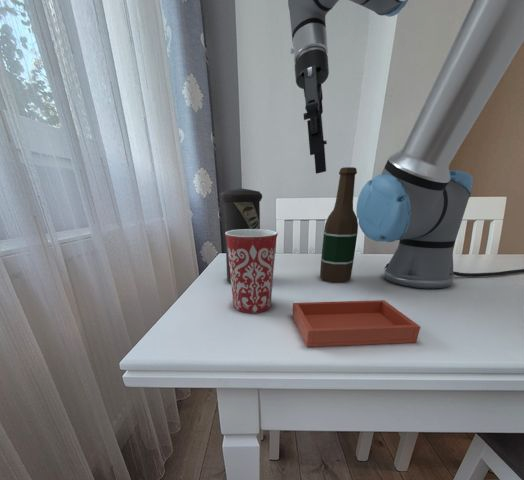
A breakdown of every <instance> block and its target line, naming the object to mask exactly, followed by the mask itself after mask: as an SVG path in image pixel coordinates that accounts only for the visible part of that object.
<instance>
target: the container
mask: <svg viewBox="0 0 524 480" xmlns="http://www.w3.org/2000/svg"><path fill="white" fill-rule="evenodd" d="M219 197H220V200H221V201H222V202H223V213H224V214H223V215H224V237H225V258H226V259H225V260H226V281H227V282H228V283H230V284H231V277H230V267H229V258H228V247H227V238H226V235H225V233H226V232H227V231H231V230H239V229H261V220H260V219H261V208H260V207H261V205H260V202H261V201H262V199H263V194H262V192H260V191H259V190H254V189H250V188H249V189H248V188H235V189H229V190H224V191H222V192H221V193H220V195H219Z"/></svg>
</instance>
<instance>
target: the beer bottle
mask: <svg viewBox="0 0 524 480" xmlns="http://www.w3.org/2000/svg"><path fill="white" fill-rule="evenodd" d="M338 174H339V180H338V186H337V190H336V191H337V192H336V198H335V202H334V207H333V209H332V211H331V212H330V214H329V215H328V217H327V219H326V221H325V223H324V230H323V238H322V248H321V259H320V269H319V277H320V279H321V281H324V282H328V283H333V284H335V283H336V284H337V283H338V284H339V283H340V284H341V283H346V282H348V281H351V277H352V273H353V265H354V259H355V253H356V247H357V238H358V234H359V233H358V232H359V220H358V218H357V214H356V213H355V210H354V195H355V194H354V193H355V182H356V180H355V179H356V175H357V174H358V169H357V168H356V167H354V166H350V167H349V166H347V167H345V166H344V167H341V168H340V169H339V172H338Z"/></svg>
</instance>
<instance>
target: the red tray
mask: <svg viewBox="0 0 524 480" xmlns="http://www.w3.org/2000/svg"><path fill="white" fill-rule="evenodd" d="M291 315H292V319H293V321H294V323H295V325H296V327H297V329H298V332H299V333H300V336H301V339H302V340H303V342H304V344H305V347H306V348H317V347H318V348H319V347H341V346H345V347H346V346H365V345H387V344H389V345H390V344H413V343H417V341H418V339H419V335H420V331H421V326H420V324H417V322H415V321H414V320H413V319H411V318H409V317H408V316H407V315H405V314H404V313H403V312H401V310H400V311H399V309H397V308H396V307H395V306H394V305H391V303H389V302H388V301H386V300H385V299H381V300H380V299H378V300H377V299H375V300H347V301H345V300H344V301H343V300H342V301H311V302H308V301H307V302H293V303H292V314H291Z"/></svg>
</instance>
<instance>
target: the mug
mask: <svg viewBox="0 0 524 480" xmlns="http://www.w3.org/2000/svg"><path fill="white" fill-rule="evenodd" d="M225 235H226V237H225V239H226V238H227V247H228V258H229V267H230V277H231V283H230V287H231V295H232V296H231V297H232V306H233V308H234V309H235V310H236V311H238V312H242V313H246V314H247V313H248V314H258V313H263V312H266V311H268V310H269V309H270V308H271V305H272V297H273V296H272V294H273V283H274V270H275V259H276V247H277V246H276V245H277V237H278V235H279V233H278V232H277V231H275V230H270V229H263V228H262V229H261V228H260V229H239V230H231V231H227V232H226V233H225V232H224V236H225Z"/></svg>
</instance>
